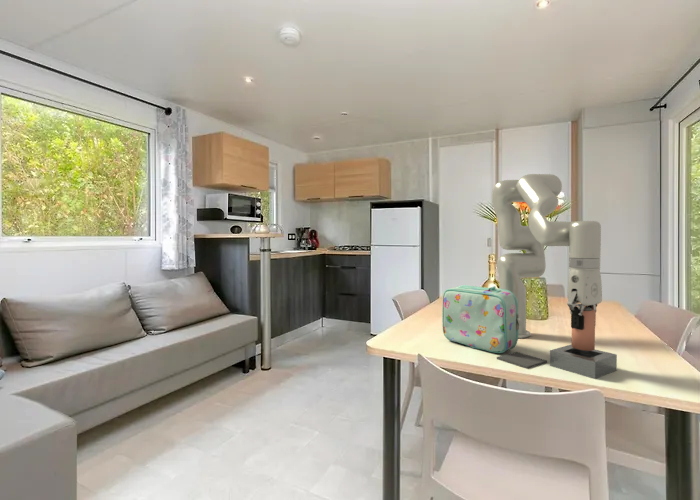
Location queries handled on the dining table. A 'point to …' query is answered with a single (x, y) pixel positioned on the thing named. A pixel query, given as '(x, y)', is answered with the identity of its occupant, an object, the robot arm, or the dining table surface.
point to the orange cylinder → (585, 332)
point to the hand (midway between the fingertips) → (583, 326)
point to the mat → (522, 360)
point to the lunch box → (481, 317)
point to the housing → (583, 361)
